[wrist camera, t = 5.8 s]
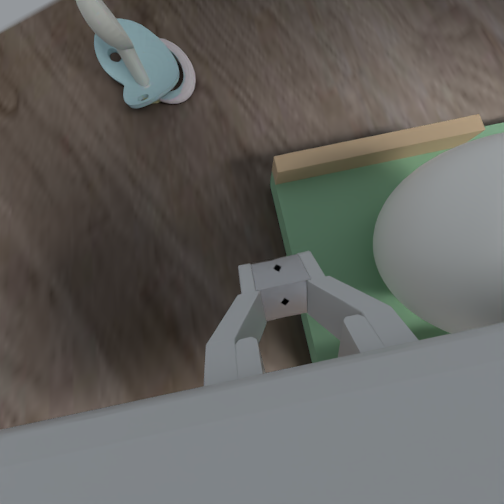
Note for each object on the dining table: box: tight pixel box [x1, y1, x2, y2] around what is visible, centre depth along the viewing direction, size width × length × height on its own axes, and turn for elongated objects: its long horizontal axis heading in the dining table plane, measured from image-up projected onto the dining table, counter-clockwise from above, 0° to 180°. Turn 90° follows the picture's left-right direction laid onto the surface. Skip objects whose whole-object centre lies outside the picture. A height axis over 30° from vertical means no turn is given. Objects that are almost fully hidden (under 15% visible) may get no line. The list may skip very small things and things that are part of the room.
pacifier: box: [76, 0, 196, 108], centre depth 14 cm, size 7×6×6 cm
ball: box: [373, 133, 504, 333], centre depth 9 cm, size 8×8×8 cm
